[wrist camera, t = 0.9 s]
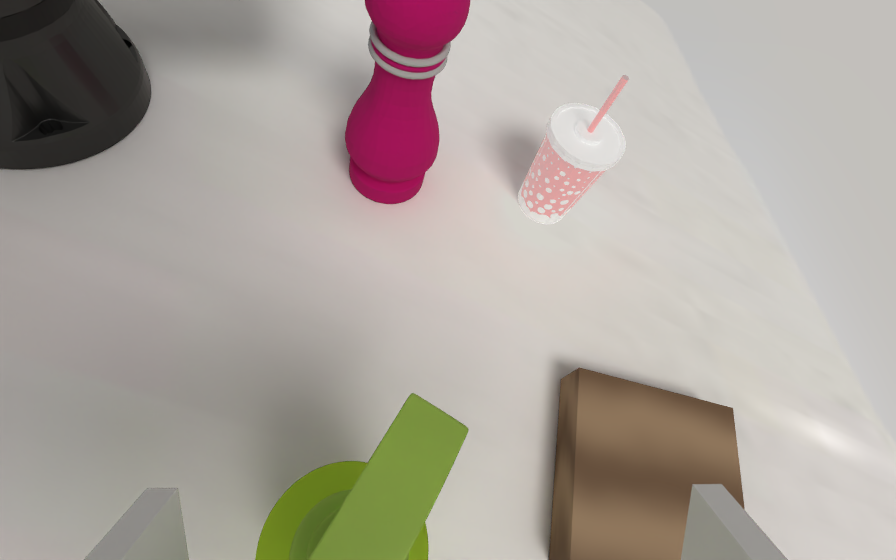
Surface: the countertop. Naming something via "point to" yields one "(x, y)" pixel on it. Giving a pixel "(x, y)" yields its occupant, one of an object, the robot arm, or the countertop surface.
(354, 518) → the soap dispenser
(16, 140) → the robot arm
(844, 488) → the countertop surface
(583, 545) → the plinth
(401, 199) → the pepper mill
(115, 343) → the countertop surface
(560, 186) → the beverage cup
